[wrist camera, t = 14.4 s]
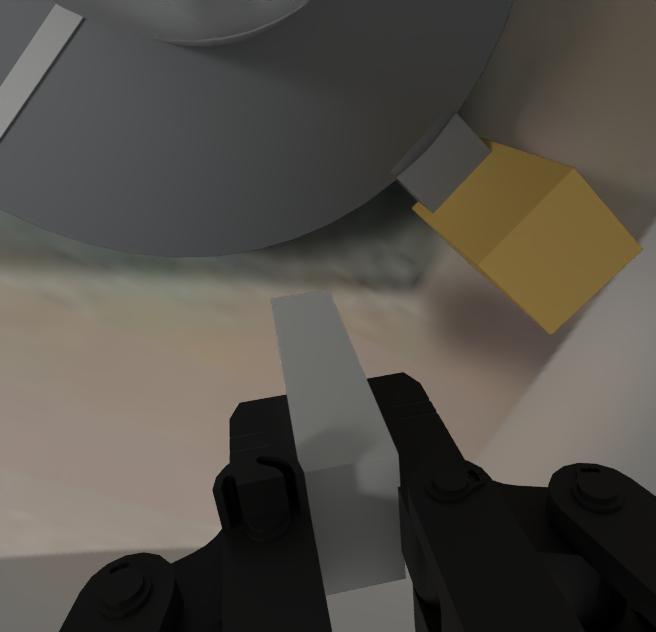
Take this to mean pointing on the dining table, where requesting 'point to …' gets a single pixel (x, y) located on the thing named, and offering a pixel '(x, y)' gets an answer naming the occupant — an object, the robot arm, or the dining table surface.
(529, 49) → the dining table surface
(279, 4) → the cover
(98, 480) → the dining table surface
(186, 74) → the turntable
